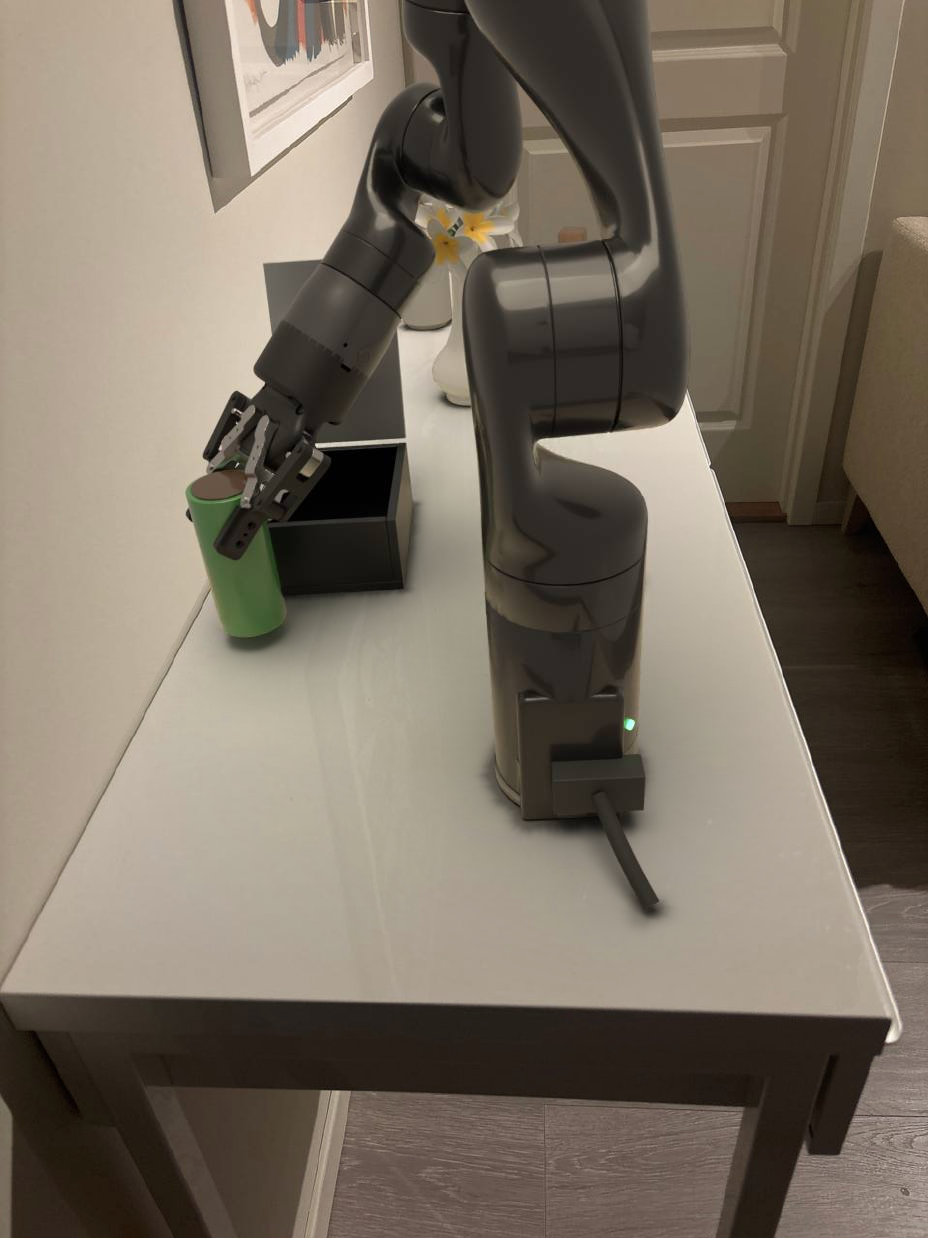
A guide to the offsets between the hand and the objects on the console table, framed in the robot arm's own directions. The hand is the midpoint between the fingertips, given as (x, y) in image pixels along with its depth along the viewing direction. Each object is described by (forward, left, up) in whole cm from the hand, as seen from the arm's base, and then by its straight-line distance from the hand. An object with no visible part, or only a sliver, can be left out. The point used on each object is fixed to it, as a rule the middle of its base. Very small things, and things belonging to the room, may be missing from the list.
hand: (210, 538), depth 72 cm
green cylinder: (+1, -1, -8) cm, 8 cm away
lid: (+24, -7, +5) cm, 26 cm away
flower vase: (+50, -19, -10) cm, 54 cm away
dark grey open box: (+15, -7, -10) cm, 19 cm away
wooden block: (+98, -36, -6) cm, 105 cm away
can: (+81, -12, -10) cm, 82 cm away
